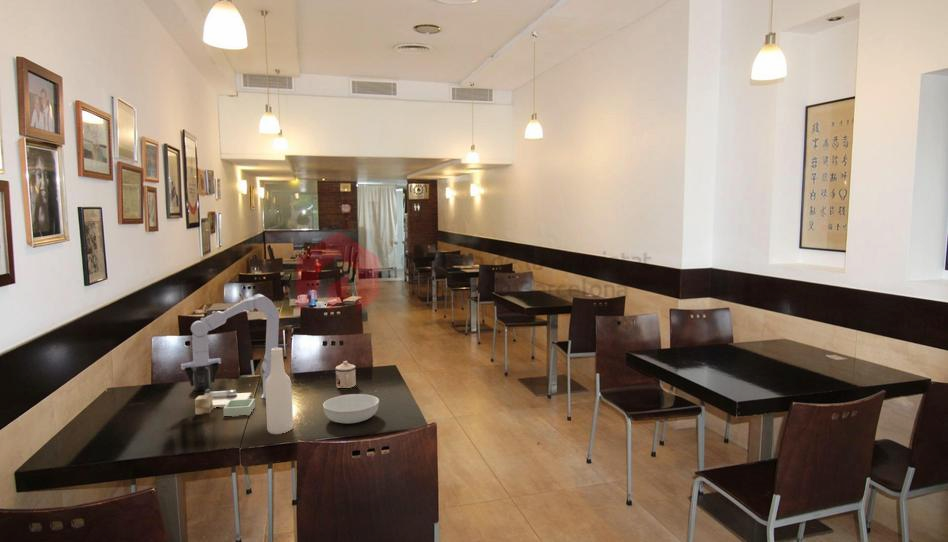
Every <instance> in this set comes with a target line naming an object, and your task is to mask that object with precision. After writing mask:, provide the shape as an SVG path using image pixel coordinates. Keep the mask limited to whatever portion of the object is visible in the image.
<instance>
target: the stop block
mask: <svg viewBox="0 0 948 542" xmlns="http://www.w3.org/2000/svg"><path fill="white" fill-rule="evenodd" d="M194 407H195V408H194V409H195V415H204V414H203V413H209V414H211V413H212V411H213V410H214V408H213V401H212V395H205V394H203V395H198V396H197V397H196V398H195V399H194ZM212 409H213V410H212ZM211 410H212V411H211Z"/></svg>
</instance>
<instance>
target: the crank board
mask: <svg viewBox="0 0 948 542" xmlns="http://www.w3.org/2000/svg"><path fill="white" fill-rule="evenodd" d="M250 396H251V397H252V392H241V393H239V392H236V396H234V397H213V398H212V401H213V409H217V408H216V407H220V408H224V407H225V405H226V404H227V403H228V402H229V400H241V399H251V397H250Z"/></svg>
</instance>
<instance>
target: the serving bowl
mask: <svg viewBox="0 0 948 542" xmlns="http://www.w3.org/2000/svg"><path fill="white" fill-rule="evenodd" d="M379 405H380V399H379V397H376V395H375V396H374V395H371V394H364V393H357V394H356V393H354V394H353V393H351V394H343V395H339V396H334V397H331V398H328V399H327V400H325V401H324V402H323V404H322V408H323V412H324V415H325V416H326V417H327V418H328V419H329V420H330V421H332V422H334V423H340V424H350V425H351V424H357V423H360V422H361V423H362V422H363V421H367V420H368V419H370V418H372V417H373V416H374V415H375V414H376V413H377V411H378V408H379Z"/></svg>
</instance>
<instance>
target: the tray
mask: <svg viewBox="0 0 948 542" xmlns="http://www.w3.org/2000/svg"><path fill="white" fill-rule="evenodd" d="M222 408H223V409H222V410H223V417H224V416H232V417H240V416H239V415H247V416H251V415H250V414H252V413H253V411H254V410H253V409H255V408H256V398H249V399H241V400H229V402H228V403H227V404H226V405H225V407H222ZM251 412H252V413H251Z"/></svg>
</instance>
